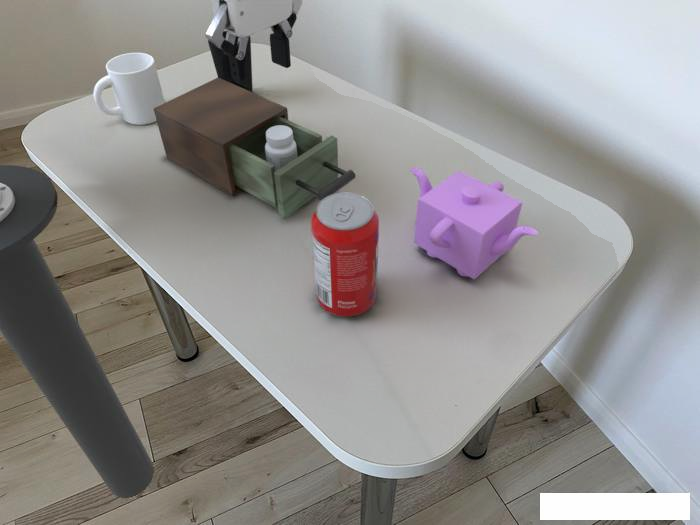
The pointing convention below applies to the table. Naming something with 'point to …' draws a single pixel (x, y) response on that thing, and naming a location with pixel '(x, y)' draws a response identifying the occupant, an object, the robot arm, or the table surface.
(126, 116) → the mug
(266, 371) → the table surface
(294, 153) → the pill bottle
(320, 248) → the soda can
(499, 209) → the teapot
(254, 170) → the drawer
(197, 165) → the cabinet
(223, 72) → the cup
